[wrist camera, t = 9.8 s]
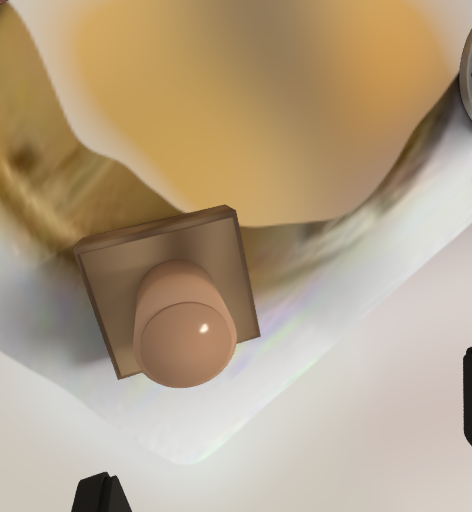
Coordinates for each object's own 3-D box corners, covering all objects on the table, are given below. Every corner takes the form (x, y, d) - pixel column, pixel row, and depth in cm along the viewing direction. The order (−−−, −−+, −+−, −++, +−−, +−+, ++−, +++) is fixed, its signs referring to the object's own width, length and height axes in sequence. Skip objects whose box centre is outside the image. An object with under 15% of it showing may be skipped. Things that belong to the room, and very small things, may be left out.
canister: (207, 251, 27) (228, 286, 20) (222, 321, 28) (245, 374, 22) (127, 270, 26) (119, 314, 19) (148, 341, 27) (148, 404, 21)
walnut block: (225, 204, 30) (236, 211, 26) (248, 316, 34) (261, 337, 30) (82, 237, 28) (71, 250, 24) (121, 354, 32) (117, 381, 28)
